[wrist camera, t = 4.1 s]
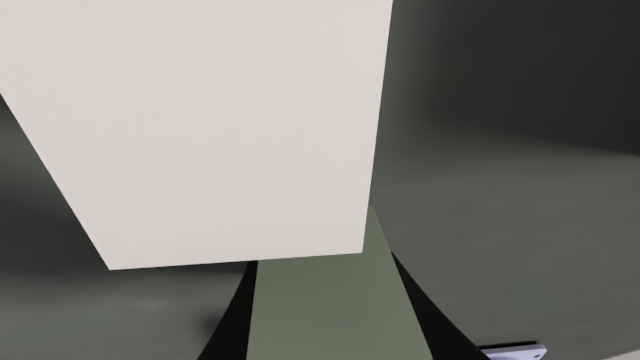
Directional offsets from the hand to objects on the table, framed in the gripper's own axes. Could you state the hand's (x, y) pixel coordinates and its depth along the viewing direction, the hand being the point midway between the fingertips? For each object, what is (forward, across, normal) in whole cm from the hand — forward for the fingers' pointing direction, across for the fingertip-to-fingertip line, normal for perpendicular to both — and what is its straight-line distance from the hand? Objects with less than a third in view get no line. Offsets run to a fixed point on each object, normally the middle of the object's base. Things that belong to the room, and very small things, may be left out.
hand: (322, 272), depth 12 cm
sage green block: (+1, 0, 0) cm, 1 cm away
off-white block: (+2, +2, -8) cm, 8 cm away
